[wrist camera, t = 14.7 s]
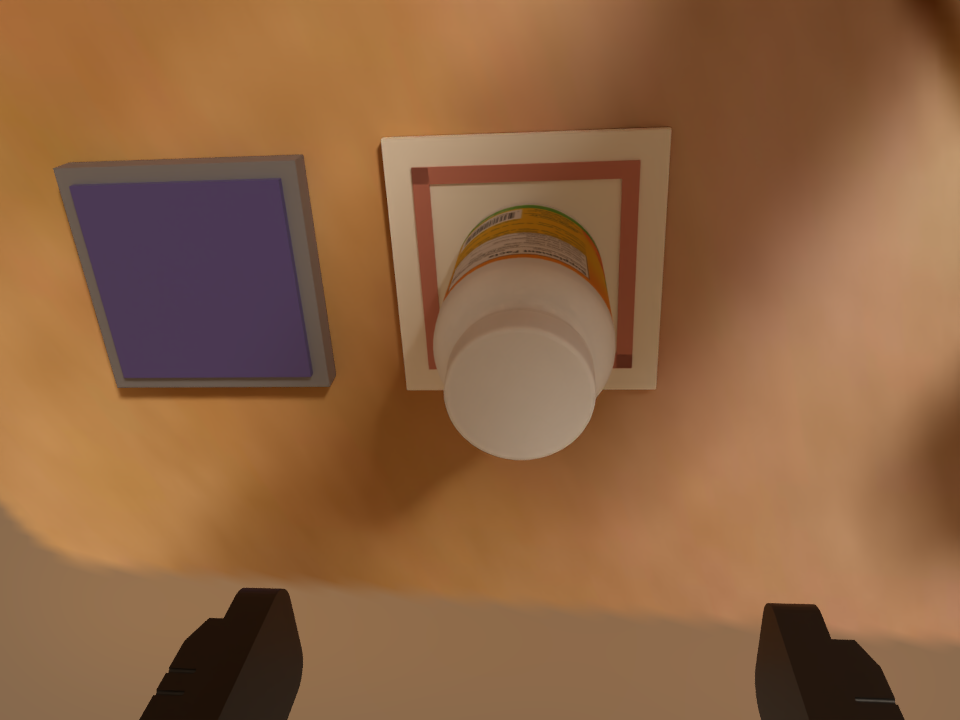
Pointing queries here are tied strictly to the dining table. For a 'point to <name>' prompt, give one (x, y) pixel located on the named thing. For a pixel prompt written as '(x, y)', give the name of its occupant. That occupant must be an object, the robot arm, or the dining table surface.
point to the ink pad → (202, 270)
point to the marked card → (531, 179)
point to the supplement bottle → (525, 332)
